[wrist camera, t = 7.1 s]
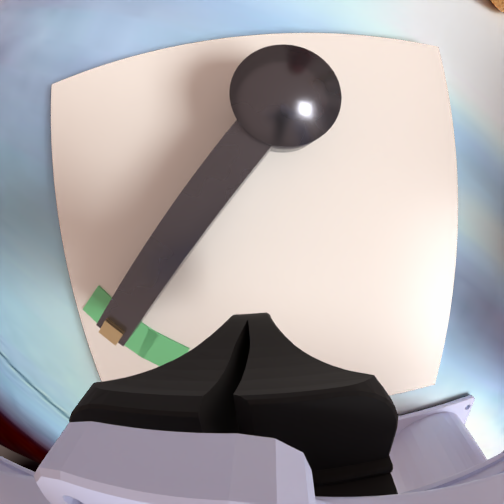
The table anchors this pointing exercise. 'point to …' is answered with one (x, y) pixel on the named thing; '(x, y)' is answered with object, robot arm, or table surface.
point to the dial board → (268, 206)
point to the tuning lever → (230, 168)
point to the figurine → (498, 4)
